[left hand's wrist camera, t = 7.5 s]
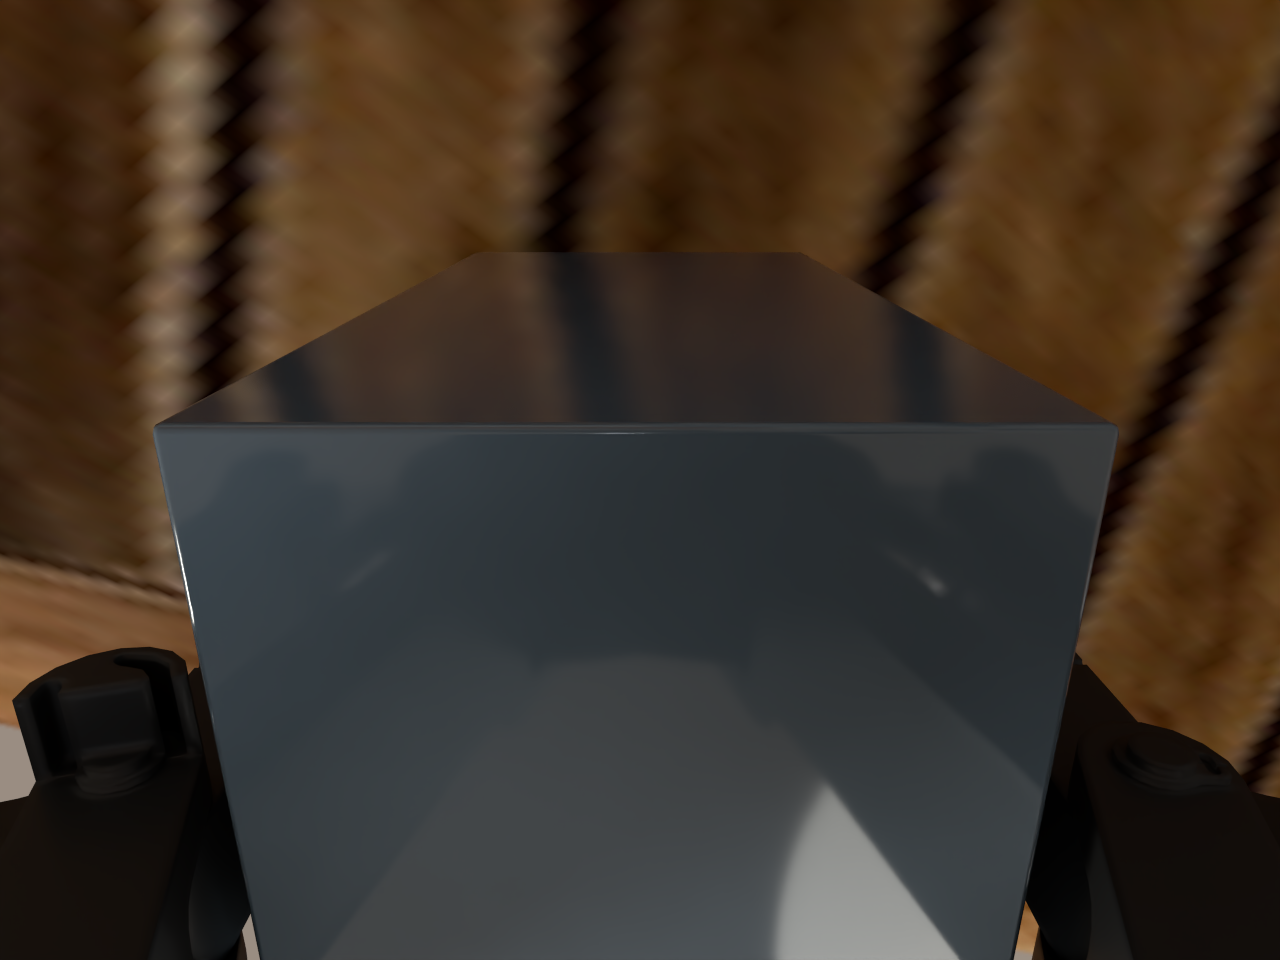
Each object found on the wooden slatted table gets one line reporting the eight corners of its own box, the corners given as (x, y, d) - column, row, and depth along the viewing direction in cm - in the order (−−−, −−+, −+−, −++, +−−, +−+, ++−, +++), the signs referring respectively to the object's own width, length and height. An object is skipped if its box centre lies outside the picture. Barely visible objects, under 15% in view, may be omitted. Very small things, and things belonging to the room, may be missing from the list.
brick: (473, 252, 15) (146, 424, 5) (802, 252, 15) (1126, 425, 5) (501, 676, 18) (328, 1312, 8) (775, 676, 18) (946, 1313, 8)
